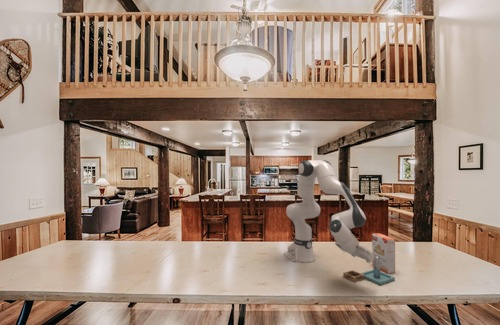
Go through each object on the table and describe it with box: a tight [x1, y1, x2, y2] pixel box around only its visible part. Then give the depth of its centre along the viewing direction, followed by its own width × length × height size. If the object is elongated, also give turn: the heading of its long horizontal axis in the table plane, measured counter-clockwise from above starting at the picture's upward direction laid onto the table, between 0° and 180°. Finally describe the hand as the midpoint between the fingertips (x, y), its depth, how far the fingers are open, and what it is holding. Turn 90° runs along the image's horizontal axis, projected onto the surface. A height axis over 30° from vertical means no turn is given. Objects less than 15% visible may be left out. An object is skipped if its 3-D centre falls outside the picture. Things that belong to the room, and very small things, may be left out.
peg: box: [372, 255, 381, 279], centre depth 149 cm, size 4×4×12 cm
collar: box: [342, 269, 365, 283], centre depth 149 cm, size 8×8×2 cm
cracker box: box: [371, 232, 396, 275], centre depth 162 cm, size 14×6×21 cm, turn 11°
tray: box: [360, 269, 396, 287], centre depth 148 cm, size 13×13×2 cm
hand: (361, 258), depth 143 cm, fingers open, 8 cm apart
